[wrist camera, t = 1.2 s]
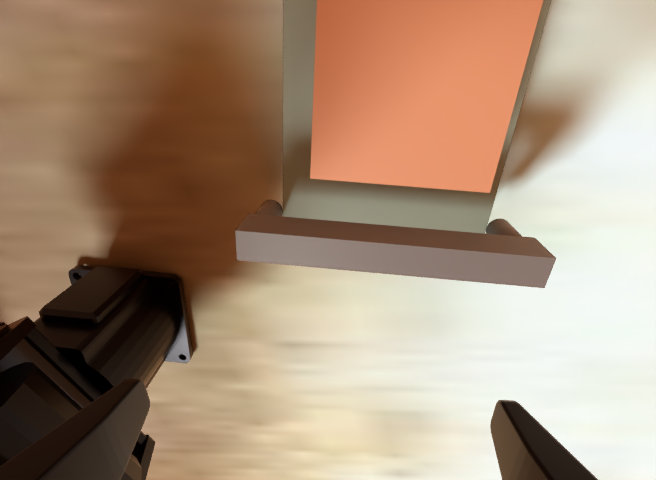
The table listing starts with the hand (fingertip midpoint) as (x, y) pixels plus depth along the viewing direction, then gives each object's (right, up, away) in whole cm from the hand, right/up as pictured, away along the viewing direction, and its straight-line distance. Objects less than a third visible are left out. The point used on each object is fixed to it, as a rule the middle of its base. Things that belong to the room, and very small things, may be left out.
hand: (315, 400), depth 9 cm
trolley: (+3, +10, +7) cm, 12 cm away
